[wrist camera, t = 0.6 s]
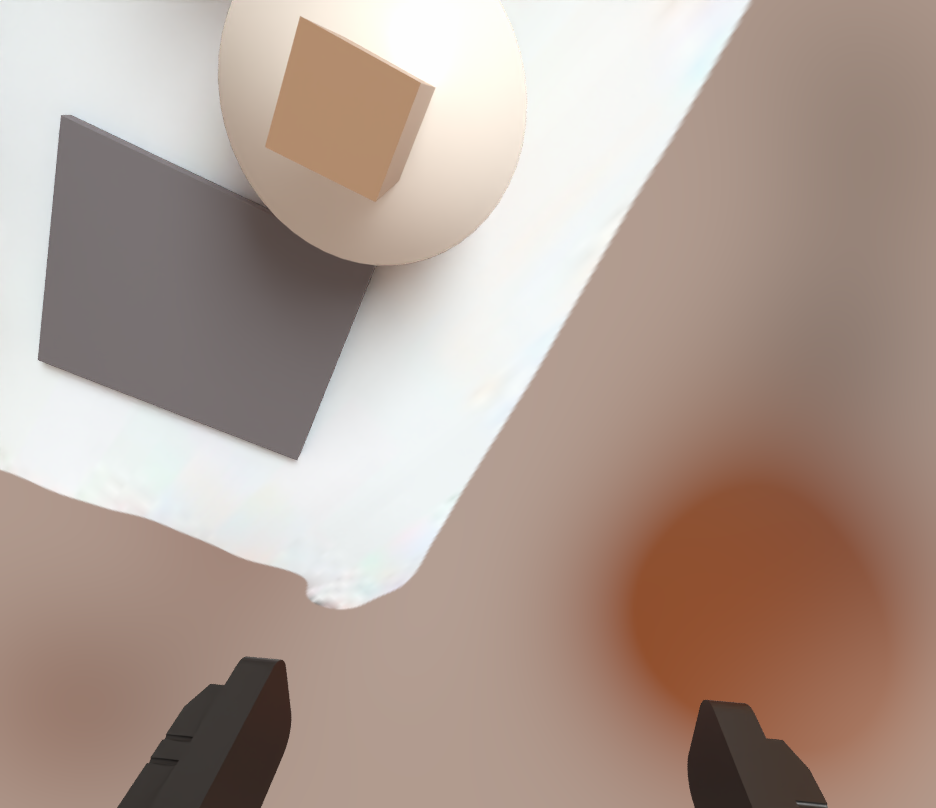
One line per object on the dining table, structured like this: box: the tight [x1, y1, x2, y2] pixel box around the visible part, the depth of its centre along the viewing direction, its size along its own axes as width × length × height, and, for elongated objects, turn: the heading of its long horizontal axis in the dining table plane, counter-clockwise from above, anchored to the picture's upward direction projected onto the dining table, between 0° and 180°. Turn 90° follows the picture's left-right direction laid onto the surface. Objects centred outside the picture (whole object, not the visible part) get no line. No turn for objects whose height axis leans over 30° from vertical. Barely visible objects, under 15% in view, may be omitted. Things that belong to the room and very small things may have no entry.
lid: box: [218, 0, 527, 265], centre depth 21 cm, size 13×13×7 cm
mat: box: [38, 115, 376, 460], centre depth 34 cm, size 18×16×1 cm
